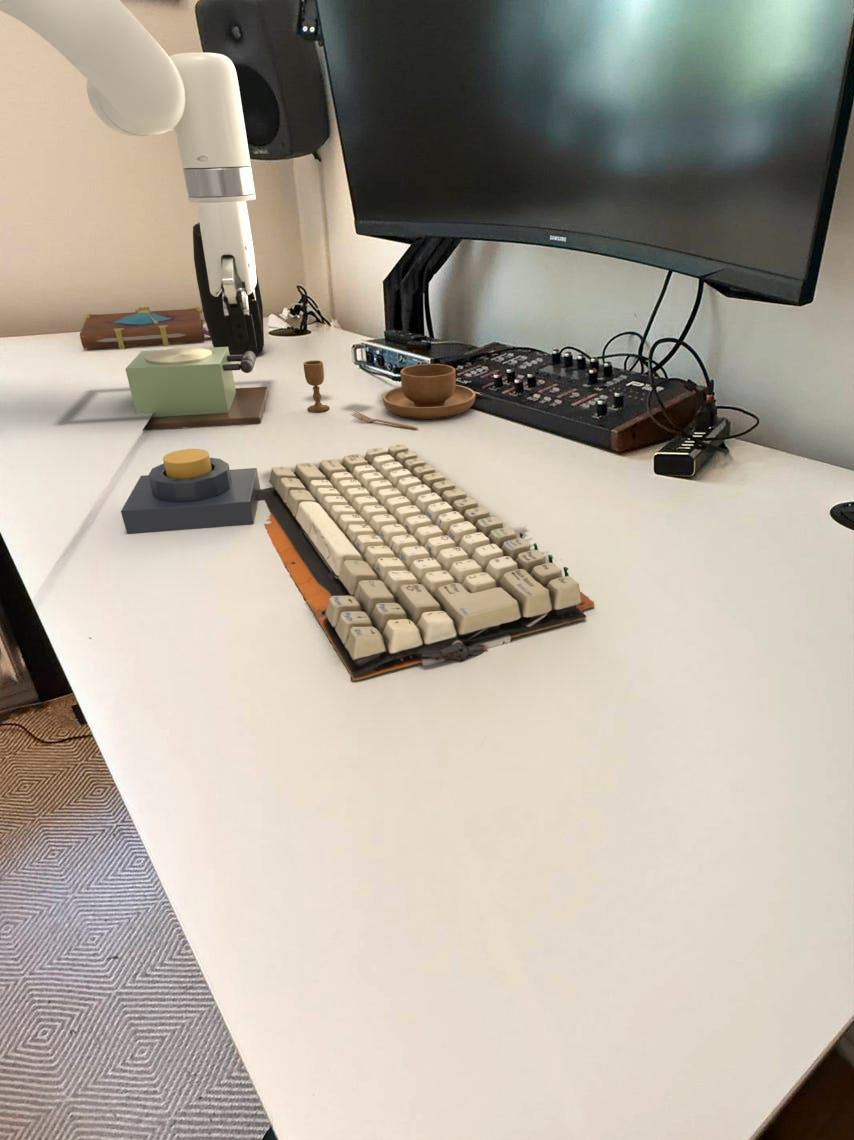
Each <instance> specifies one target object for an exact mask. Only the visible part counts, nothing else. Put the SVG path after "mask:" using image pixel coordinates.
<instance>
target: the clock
mask: <svg viewBox="0 0 854 1140" xmlns="http://www.w3.org/2000/svg"><path fill="white" fill-rule="evenodd" d="M256 361H257V357H256V356H255V354H254V353H253V352H251V351H247V352H245V353H244V355H230V354H229V349H228V347H213V346H212V347H177V348H169V349H155V350H153V349H152V350H151V349H150V350H141V351H140V352H139V353H138V354H137V355H136V356H135V358H134V359H133V360H132V361H131V362H130V363H129V364H128V365H127V366H126V367H125V373H126V378H127V381H128V385H129V389H130V394H131V398H132V402H133V407H134V410H135V414H136V415H139V414H140V415H141V414H152V415H150V418H152V417H169V416H186V415H203V414H220V413H229V410H230V407H231V405H232V402H233V399H234V397H235V394H236V389H235V388H236V383H235V378H234V372H233V371H241V372H243V373H245V374H250V373H251V372H252V371H253V369H254V367H255V365H256V364H255V363H256ZM236 362H238V363H236Z"/></svg>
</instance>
